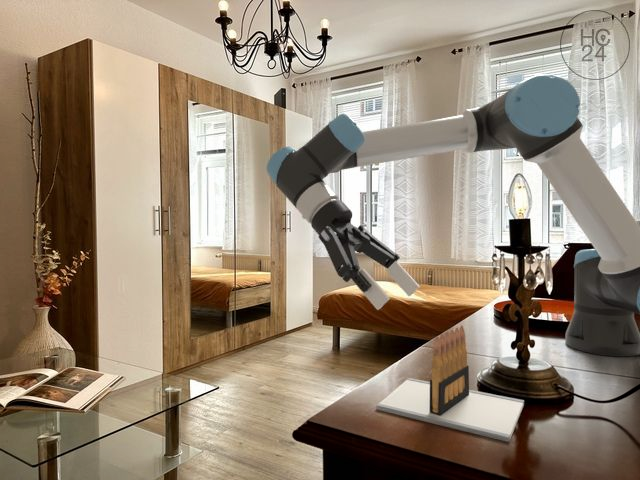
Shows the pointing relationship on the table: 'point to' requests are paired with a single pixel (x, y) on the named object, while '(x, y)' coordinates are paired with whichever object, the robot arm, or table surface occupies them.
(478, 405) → the white flat rectangular board
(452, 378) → the ammunition clip
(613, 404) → the table surface
